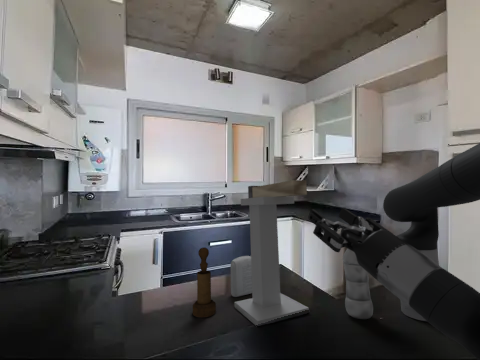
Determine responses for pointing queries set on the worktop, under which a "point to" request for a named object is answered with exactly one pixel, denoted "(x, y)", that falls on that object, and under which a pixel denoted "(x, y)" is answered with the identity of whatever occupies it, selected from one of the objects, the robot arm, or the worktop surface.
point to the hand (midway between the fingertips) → (326, 212)
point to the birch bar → (279, 189)
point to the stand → (266, 264)
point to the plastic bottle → (356, 288)
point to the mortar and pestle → (204, 289)
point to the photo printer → (241, 276)
